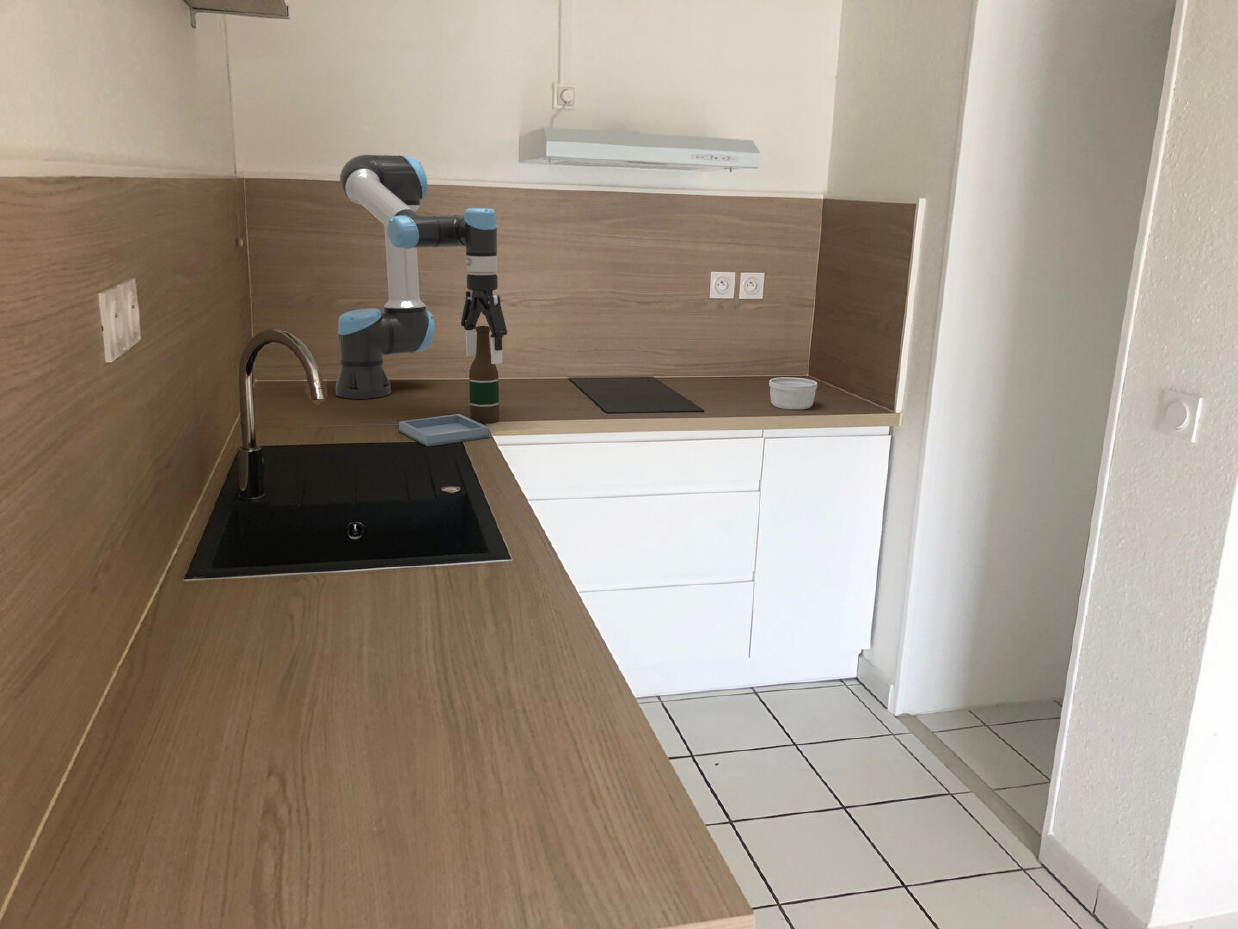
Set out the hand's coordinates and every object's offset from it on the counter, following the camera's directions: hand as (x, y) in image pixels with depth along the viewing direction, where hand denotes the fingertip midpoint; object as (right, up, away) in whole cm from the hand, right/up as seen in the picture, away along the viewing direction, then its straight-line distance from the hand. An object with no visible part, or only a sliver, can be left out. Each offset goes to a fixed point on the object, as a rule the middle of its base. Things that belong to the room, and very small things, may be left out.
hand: (484, 359), depth 245 cm
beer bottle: (-1, -15, +5) cm, 16 cm away
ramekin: (+82, -10, +29) cm, 88 cm away
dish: (-8, -19, -10) cm, 23 cm away
